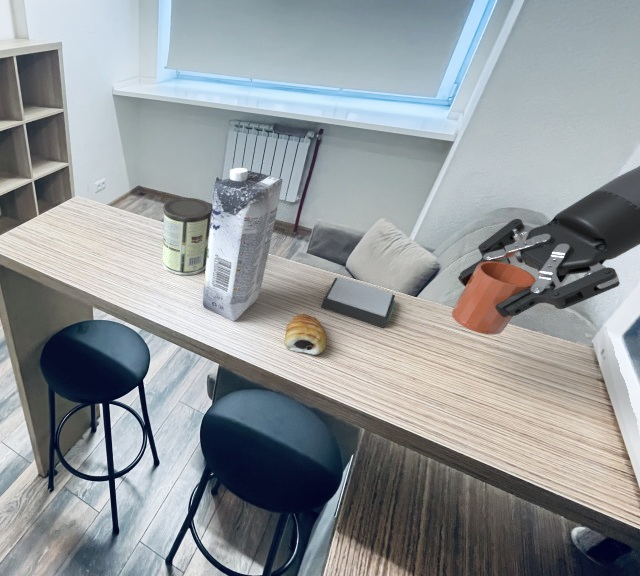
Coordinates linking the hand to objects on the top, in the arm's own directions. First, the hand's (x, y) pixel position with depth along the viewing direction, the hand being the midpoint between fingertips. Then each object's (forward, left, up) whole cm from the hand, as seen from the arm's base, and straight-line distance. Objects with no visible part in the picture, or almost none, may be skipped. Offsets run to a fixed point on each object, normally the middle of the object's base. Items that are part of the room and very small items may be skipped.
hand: (480, 296), depth 55 cm
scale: (+17, -10, -16) cm, 26 cm away
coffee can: (+50, +5, -17) cm, 53 cm away
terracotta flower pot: (-1, -1, -4) cm, 5 cm away
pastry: (+18, +7, -17) cm, 25 cm away
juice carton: (+33, +9, -17) cm, 38 cm away
